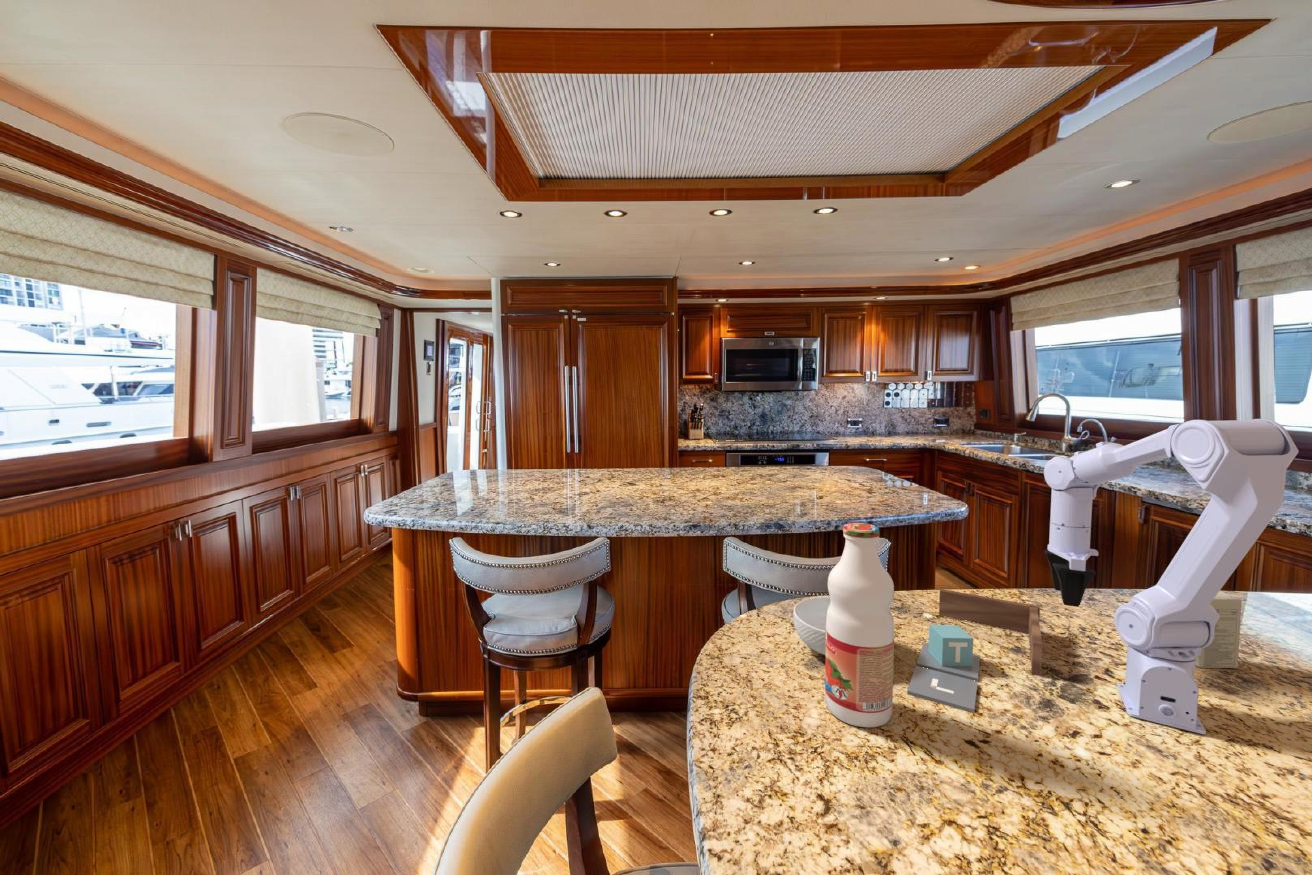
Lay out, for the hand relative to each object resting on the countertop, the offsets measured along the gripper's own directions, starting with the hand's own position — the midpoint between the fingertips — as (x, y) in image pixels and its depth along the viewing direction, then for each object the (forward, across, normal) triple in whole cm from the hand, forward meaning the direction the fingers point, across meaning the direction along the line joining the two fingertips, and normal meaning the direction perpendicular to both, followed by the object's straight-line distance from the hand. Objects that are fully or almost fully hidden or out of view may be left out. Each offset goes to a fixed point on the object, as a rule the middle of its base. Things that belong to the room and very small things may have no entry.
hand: (1066, 597), depth 93 cm
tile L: (+10, -24, +19) cm, 33 cm away
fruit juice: (+10, -36, +31) cm, 48 cm away
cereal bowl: (+10, -19, +36) cm, 42 cm away
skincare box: (+10, +6, -21) cm, 24 cm away
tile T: (+10, -14, +18) cm, 25 cm away
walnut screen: (+10, -3, +12) cm, 16 cm away
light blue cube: (+9, -14, +18) cm, 25 cm away
